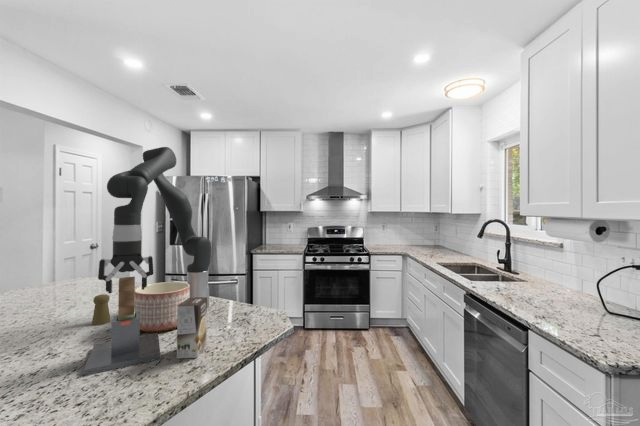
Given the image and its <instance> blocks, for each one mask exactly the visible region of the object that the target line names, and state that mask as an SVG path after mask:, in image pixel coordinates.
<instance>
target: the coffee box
mask: <svg viewBox="0 0 640 426" xmlns="http://www.w3.org/2000/svg"><path fill="white" fill-rule="evenodd" d="M207 332H208V308H207V297H195V298H188V299H186V300H185V301H184V302H182V303H181V304H179V305H178V316H177V329H176V359H196V358H199V356H200V354H201V353H202V352H203V350H204V349H206V348H205V347H206V346H207V339H208V333H207Z"/></svg>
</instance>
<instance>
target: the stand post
mask: <svg viewBox="0 0 640 426" xmlns="http://www.w3.org/2000/svg"><path fill="white" fill-rule="evenodd" d="M135 284H136V276H126V277H119V279H118V305H117V306H118V312H117V313H118V314H117V315H118V320H125V319H131V318H135V311H134V306H135V289H136V288H135V286H136V285H135Z"/></svg>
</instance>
